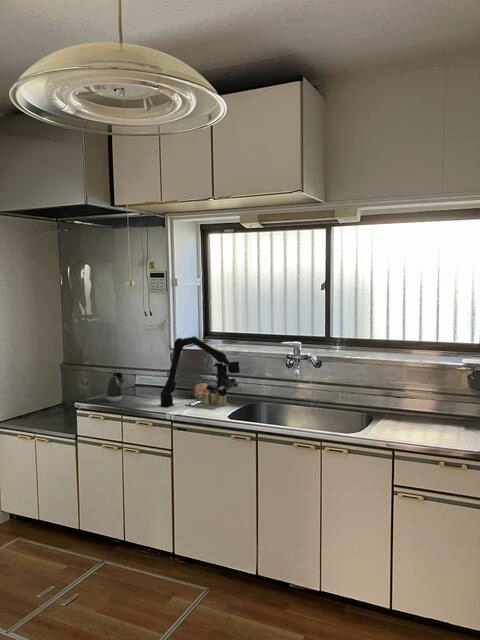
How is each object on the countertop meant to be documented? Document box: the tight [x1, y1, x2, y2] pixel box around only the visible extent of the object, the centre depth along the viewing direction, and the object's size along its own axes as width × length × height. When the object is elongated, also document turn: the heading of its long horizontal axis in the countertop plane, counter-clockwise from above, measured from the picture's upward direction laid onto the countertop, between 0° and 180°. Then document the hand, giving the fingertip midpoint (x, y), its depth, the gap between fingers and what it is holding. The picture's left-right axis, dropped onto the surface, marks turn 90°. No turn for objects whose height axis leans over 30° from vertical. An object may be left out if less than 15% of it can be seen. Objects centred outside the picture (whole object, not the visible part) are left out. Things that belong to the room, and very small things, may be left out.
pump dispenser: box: [105, 375, 124, 403], centre depth 334 cm, size 10×10×15 cm
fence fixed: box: [196, 392, 212, 403], centre depth 327 cm, size 10×2×5 cm, turn 56°
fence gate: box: [211, 393, 227, 406], centre depth 320 cm, size 11×2×5 cm, turn 49°
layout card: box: [186, 401, 230, 411], centre depth 320 cm, size 20×16×1 cm
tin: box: [191, 382, 211, 399], centre depth 343 cm, size 15×3×8 cm, turn 143°
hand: (223, 400), depth 321 cm, fingers closed
